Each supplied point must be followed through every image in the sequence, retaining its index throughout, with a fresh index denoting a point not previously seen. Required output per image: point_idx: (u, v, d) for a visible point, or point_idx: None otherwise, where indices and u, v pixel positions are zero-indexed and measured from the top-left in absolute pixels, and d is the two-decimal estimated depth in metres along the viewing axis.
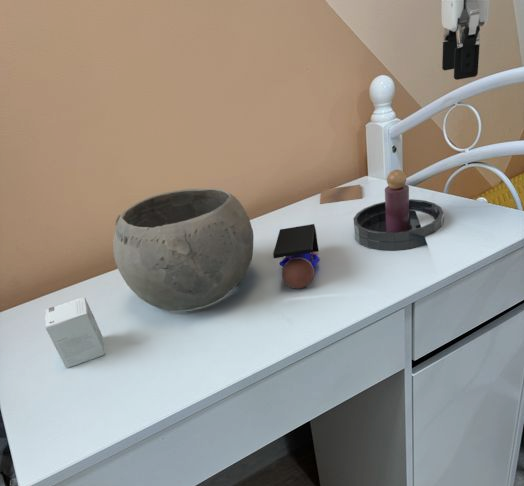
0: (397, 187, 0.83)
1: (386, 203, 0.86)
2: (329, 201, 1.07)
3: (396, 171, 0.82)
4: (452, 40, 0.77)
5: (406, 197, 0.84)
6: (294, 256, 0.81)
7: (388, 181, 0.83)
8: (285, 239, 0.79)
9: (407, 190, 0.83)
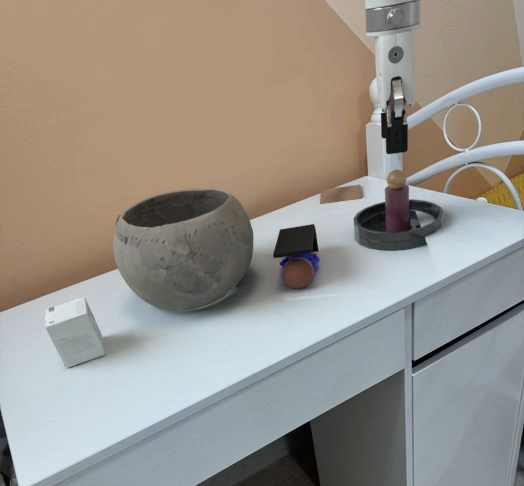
0: (397, 187, 0.83)
1: (386, 203, 0.86)
2: (329, 201, 1.07)
3: (396, 171, 0.82)
4: None
5: (406, 197, 0.84)
6: (294, 256, 0.81)
7: (388, 181, 0.83)
8: (285, 239, 0.79)
9: (407, 190, 0.83)
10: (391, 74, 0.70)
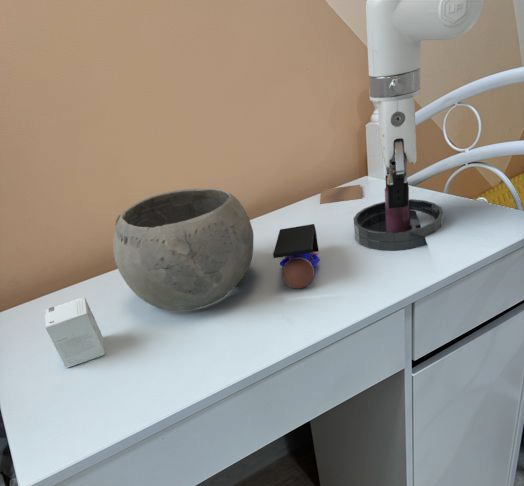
0: None
1: (386, 203, 0.86)
2: (329, 201, 1.07)
3: None
4: None
5: None
6: (294, 256, 0.81)
7: (388, 181, 0.83)
8: (285, 239, 0.79)
9: None
10: (394, 142, 0.76)
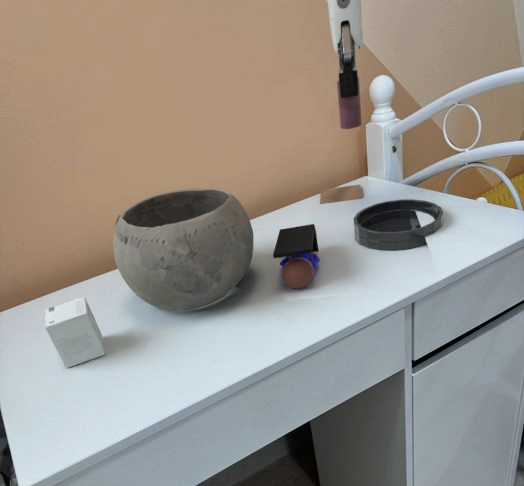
0: None
1: (338, 95, 0.91)
2: (329, 201, 1.07)
3: None
4: None
5: None
6: (294, 256, 0.81)
7: (339, 71, 0.88)
8: (285, 239, 0.79)
9: None
10: (341, 24, 0.81)
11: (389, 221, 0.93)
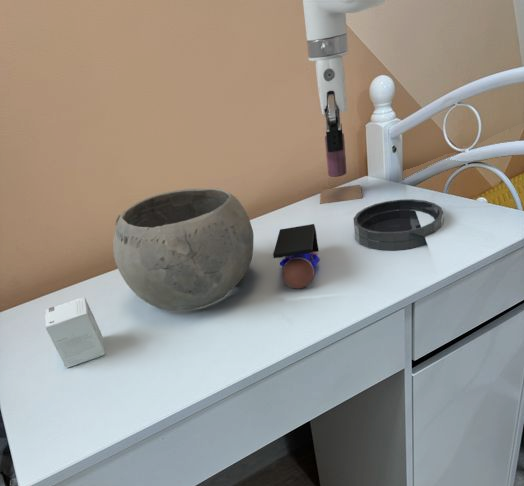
0: None
1: (326, 148, 1.04)
2: (329, 201, 1.07)
3: None
4: None
5: None
6: (294, 256, 0.81)
7: (326, 129, 1.02)
8: (285, 239, 0.79)
9: None
10: (327, 94, 0.94)
11: (389, 221, 0.93)
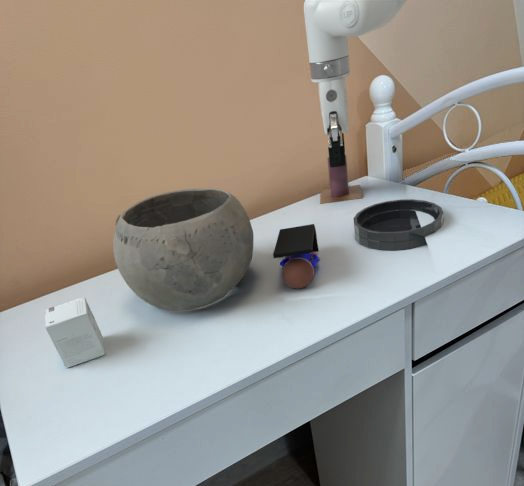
0: None
1: (329, 169, 1.07)
2: (329, 201, 1.07)
3: None
4: None
5: None
6: (294, 256, 0.81)
7: None
8: (285, 239, 0.79)
9: None
10: (329, 109, 0.96)
11: (389, 221, 0.93)
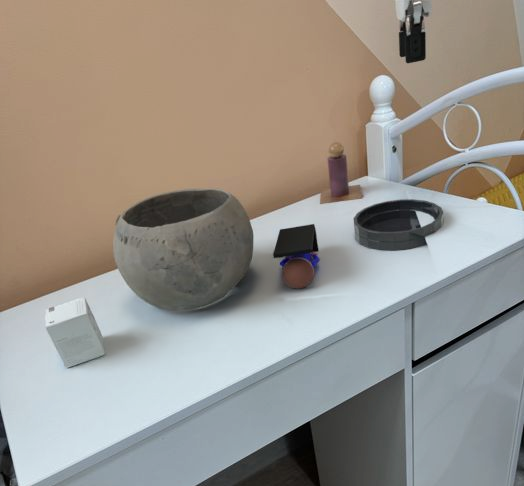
0: (336, 156, 1.04)
1: (329, 169, 1.07)
2: (329, 201, 1.07)
3: (335, 143, 1.04)
4: (406, 30, 0.89)
5: (344, 164, 1.05)
6: (294, 256, 0.81)
7: (329, 151, 1.04)
8: (285, 239, 0.79)
9: (344, 158, 1.05)
10: None
11: (389, 221, 0.93)
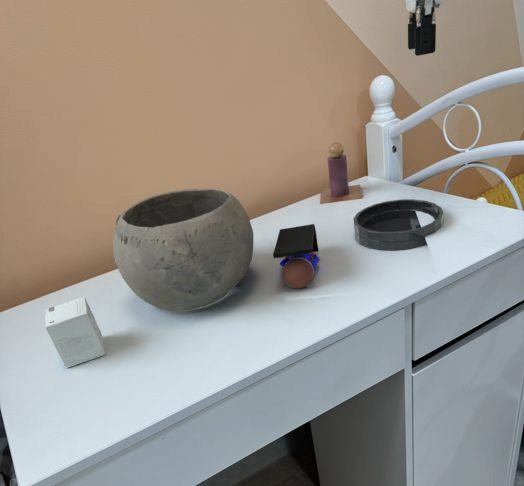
0: (336, 156, 1.04)
1: (329, 169, 1.07)
2: (329, 201, 1.07)
3: (335, 143, 1.04)
4: (416, 22, 0.87)
5: (344, 164, 1.05)
6: (294, 256, 0.81)
7: (329, 151, 1.04)
8: (285, 239, 0.79)
9: (344, 158, 1.05)
10: None
11: (389, 221, 0.93)
